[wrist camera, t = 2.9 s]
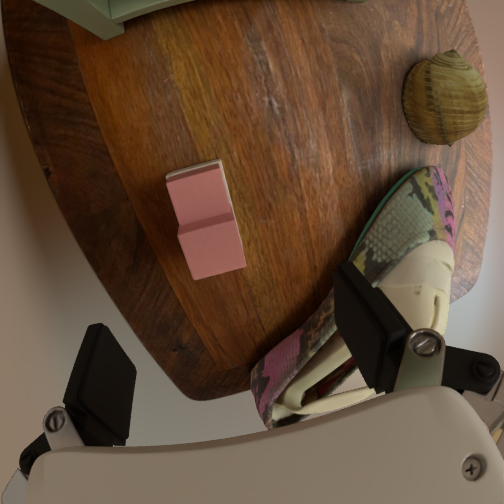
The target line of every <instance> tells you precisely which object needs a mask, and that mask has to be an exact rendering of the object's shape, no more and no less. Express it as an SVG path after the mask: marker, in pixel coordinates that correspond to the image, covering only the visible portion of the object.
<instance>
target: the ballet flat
mask: <svg viewBox="0 0 504 504" xmlns="http://www.w3.org/2000/svg"><path fill="white" fill-rule="evenodd" d="M454 239H455V215H454V205H453V198H452V193H451V188H450V184H449V180H448V178H447V175H446V174H445V172H444V171H443V170H442V169H441V168H438V167H435V166H427V167H423V168H415V169H413V170H411V171H409V172H408V173H407V174H406V175H404V176H403V177H402V178H401V179H400V180H399V181H398V182H397V183H396V184H395V185H394V186H393V187H392V189H391V190H390V191H389V192H388V193H387V194H386V196H385V197H384V198H383V199H382V201H381V202H380V204H379V205H378V207H377V208H376V209H375V211H374V213H373V214H372V216H371V217H370V219H369V221H368V222H367V224H366V226H365V228H364V229H363V231H362V233H361V235H360V237H359V239H358V241H357V243H356V244H355V247H354V249H353V251H352V253H351V255H350V257H349V260H348V261H352V262H353V263H354V265H355V266H356V267H357V268H358V269H359V271H360V272H361V273H362V274H363V275H364V277H365V278H366V279H367V280H368V281H369V283H370V284H371V285H372V286H373V288H375V287H378V288H380V289H381V290H382V291H383V293H384V294H385V295H386V296H387V297H388V299H389V300H390V301H391V302H392V304H393V305H394V306H395V307H396V309H397V310H398V311H399V312H400V314H401V315H402V316H403V317H404V319H405V320H406V321H407V323H408V324H409V325H410V326H411V328H412V329H413V330H416V329H420V328H429V329H433V330H435V331H437V332H439V333H440V334H441V335H442V336H444V333H445V329H446V325H447V320H448V311H449V299H450V280H451V275H452V273H453V272H454V259H455V243H454ZM357 369H358V366H357V365H356V363H355V361H354V359H353V357H352V355H351V353H350V351H349V349H348V347H347V346H346V344H345V342H344V340H343V338H342V336H341V334H340V333H339V331H338V329H337V327H336V324H335V319H334V289H333V288H332V289H331V291H330V293H329V294H328V295H327V297H326V299H325V300H324V301H323V302H322V304H321V305H320V307H319V308H318V309H317V310H316V311H315V312H314V313H313V314H312V315H311V316H310V318H309V319H308V320H307V321H306V322H305V323H304V324H303V325H302V326H301V327H300V328H299V329H298V330H296V331H295V332H294V333H293V334H291V335H290V336H288V337H287V338H285V339H284V340H282V341H281V342H280V343H279V344H278V345H277V346H275V347H274V348H273V349H272V350H271V351H270V352H269V353H267V355H265V356H264V357H263V358H261V359H260V360H259V361H258V363H257V364H256V365H255V367H254V368H253V370H252V372H251V390H252V393H253V395H254V398H255V402H256V407H257V410H258V413H259V415H260V417H261V419H262V420H263V422H264V424H265V426H266V427H267V428H268V430H271V429H275V428H280V427H284V426H288V425H291V424H295V423H299V422H301V421H302V420H303V419H305V418H306V417H307V416H309V415H310V414H312V413H320V412H327V411H331V410H335V409H339V408H342V407H345V406H348V405H351V404H354V403H356V402H358V401H361V400H363V399H365V398H366V397H367V396H369V395H370V394H372V393H374V392H375V390H374V388H372V389H369V388H368V386H366V387H362V388H358V389H354V390H350V391H346V392H342V393H338V394H334V395H331V394H332V393H333V392H334V391H335V390H336V389H337V388H338V387H339V386H340V385H341V384H342V383H343V382H344V381H345V380H346V379H347V378H348V377H349V376H350V375H351V374H352V373H354V372H355V370H357Z"/></svg>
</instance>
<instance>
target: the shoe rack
mask: <svg viewBox="0 0 504 504" xmlns="http://www.w3.org/2000/svg"><path fill="white" fill-rule="evenodd" d="M34 1H36V2H38V3H40V4H42V5H44V6H45V7H47V8H49V9H51V10H53V11H55V12H57V13H59V14H60V15H62V16H64V17H66V18H68V19H69V20H71V21H73V22H75V23H76V24H78V25H80V26H82V27H83V28H85V29H87V30H88V31H90V32H92V33H93V34H95V35H96V36H98V37H100V38H101V39H103V40H104V41H106V40H108V39H110V38H113V37H115V36H118V35H120V34H123V33H125V31H124V25H123V21H126V20H129V19H132V18H134V17H137V16H140V15H143V14H146V13H149V12H152V11H156V10H159V9H162V8H166V7H169V6H173V5H177V4H181V3H185V2H189V1H194V0H34ZM346 1H351V2H361V3H363V2H365V1H367V0H346Z"/></svg>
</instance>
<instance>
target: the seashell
mask: <svg viewBox="0 0 504 504" xmlns="http://www.w3.org/2000/svg"><path fill="white" fill-rule="evenodd" d="M402 96H403V104H404V106H403V109H404V111H405V116H406V118H407V121H408V124H409V127H410V129H411V131H412V132H413V133H414V134H415V136H417V138H418V139H420V140H421V141H422V142H425V143H426V144H427V143H430V144H436V145H446V144H447V145H449V146H450V147H451V146H452V145H453V143H454V142H455V141H457V140H459V139H461V138H463V137H465V136H467V135H469V134H470V133H472V132H474V131H475V129H476V128H477V127H478V126H479V124H480V123H481V121H482V119H483V117H484V114H485V111H486V106H487V97H486V89H485V85H484V83H483V80H482V78H481V76H480V75H479V73H478V72H477V70H476V69H474V68H473V67H472V66H471V65H470V64H469V63H468V62H466V61H465V60H464V58H463V57H461V56H460V55H459V54H458V53H457V52H456V51H455V50H454V49H453V50H450V51H447V52H444V53H439V54H436V55H435V56H433V58H432V59H431V61H428V60H423V61H421V62H419V63H418V64H416V65H414V67H413V68H412V70H410V71H409V75H408V77H407V78H406V81H405V86H404V92H403V94H402Z"/></svg>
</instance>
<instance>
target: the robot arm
mask: <svg viewBox="0 0 504 504" xmlns="http://www.w3.org/2000/svg"><path fill="white" fill-rule="evenodd" d="M333 289H334V319H335V324H336V327H337V329H338V331H339V333H340V334H341V336H342V338H343V340H344V342H345V344H346V346H347V347H348V349H349V351H350V353H351V355H352V357H353V359H354V361H355V363H356V365H357V366H358V368H359V370H360V372H361V374H362V376H363V378H364V380H365V382H366V384H367V386H368V388H369V389H372V388H374V390H375V392H376V394H379V393H381V392H384V391H385V393H386V394H385V395H382V396H379V397H376V398H374V399H370V400H367V401H364V402H362V403H359V404H356V405H353V406H350V407H348V408H345V409H342V410H339V411H336V412H332V413H329V414H326V415H323V416H320V417H316V418H313V419H310V420H306V421H302V422H299V423H295V424H291V425H288V426H284V427H280V428H275V429H271V430H267V431H262V432H257V433H253V434H247V435H242V436H237V437H231V438H225V439H218V440H211V441H204V442H196V443H186V444H176V445H162V446H142V447H141V446H139V447H113V445H114V446H125V443H126V439H128V437H129V428H130V419H131V410H132V402H133V395H134V388H135V380H136V373H137V372H136V368H135V366H134V364H133V363H132V361H131V360H130V359H129V357H128V356H127V355H126V353H125V352H124V350H123V349H122V348H121V346H120V345H119V343H118V342H117V340H116V339H115V337H114V336H113V334H112V333H111V331H110V330H109V328H108V327H107V326H104V325H103V324H102V323H97V324H92V325H89V326H88V328H87V331H86V334H85V336H84V339H83V341H82V344H81V347H80V349H79V352H78V355H77V358H76V361H75V364H74V367H73V370H72V373H71V376H70V379H69V382H68V385H67V388H66V392H65V395H64V398H63V403H64V404H65V408H63V407H61V406H57V407H53V408H52V409H50V410H49V411H48V412H47V413H46V415H45V416H44V419H43V430H44V433H43V434H41V435H40V436H39V437H38V438H37V439H36V440H35V441H34V442H32V443H31V444H30V445H29V446H28V447H27V448H26V449H24V450H23V452H22V453H21V455H20V459H19V465H20V468H21V470H20V469H19V468H17V470H16V472H15V473H14V475H13V476H12V478H11V480H10V481H9V483H8V484H7V486H6V488H5V490H4V491H3V493H2V504H504V371H502V370H500V365H499V363H498V362H497V360H496V359H495V358H494V357H492V356H491V355H488V354H485V353H480V352H475V351H470V350H465V349H460V348H456V347H451V346H446V345H445V340H444V338H443V336H442V335H441V334H440V333H439V332H437V331H435V330H433V329H429V328H420V329H416V330H413V329H412V328H411V326H410V325H409V324H408V323H407V321H406V320H405V319H404V317H403V316H402V315H401V314H400V312H399V311H398V310H397V309H396V307H395V306H394V305H393V304H392V302H391V301H390V300H389V299H388V297H387V296H386V295H385V294H384V293H383V291H382V290H381V289H380V288H378V287H375V288H373V286H372V285H371V284H370V283H369V281H368V280H367V279H366V278H365V277H364V275H363V274H362V273H361V272H360V271H359V269H358V268H357V267H356V266H355V265H354V263H353V262H352V261H348V262H345V263H341V264H338V265H337V267H336V269H334V270H333ZM482 421H483V422H485V423H486V424H487V426H488V428H489V432H488V430H487V428H486V427H485V425H484V423H483V422H482Z"/></svg>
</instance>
